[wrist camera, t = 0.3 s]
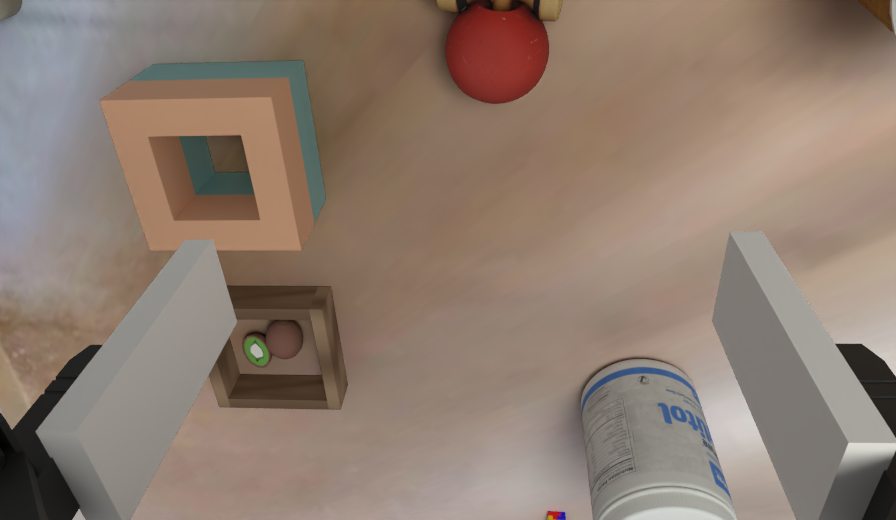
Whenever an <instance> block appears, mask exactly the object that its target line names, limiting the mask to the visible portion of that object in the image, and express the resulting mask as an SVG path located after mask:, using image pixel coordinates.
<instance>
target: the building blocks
mask: <svg viewBox="0 0 896 520" xmlns="http://www.w3.org/2000/svg"><path fill="white" fill-rule="evenodd" d="M547 520H566V518H565V512H553V511H548V515H547Z"/></svg>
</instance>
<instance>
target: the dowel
mask: <svg viewBox="0 0 896 520" xmlns="http://www.w3.org/2000/svg"><path fill="white" fill-rule="evenodd" d="M21 5H22V0H0V20H2V19H5V18H8V17H10V16H13V15H15V14H16V13H17V12H18V11H19V9H20V8H21Z"/></svg>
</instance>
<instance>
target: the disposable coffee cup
mask: <svg viewBox="0 0 896 520" xmlns="http://www.w3.org/2000/svg"><path fill="white" fill-rule="evenodd" d="M858 1H860V2H861V3H862V4H863V5H864V6H865V7H866V8H867V9H868V10H869V11H870V12H872V13H873V14H874V15H875V16H876V17H877V18H878V19H880V20H881V21H882V22H883V23H884V24H885V25H886V26H887V27H888V28H889V29H890V30H891V31H893V32H894V34H895V37H896V0H858Z"/></svg>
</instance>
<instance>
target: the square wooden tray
mask: <svg viewBox="0 0 896 520" xmlns="http://www.w3.org/2000/svg"><path fill="white" fill-rule="evenodd" d="M227 289H228V292H229V296H230V299H231V302H232V306H233V309H234V313H235V316H236V319H264V320H311V322H312V327H313V332H314V337H315V342H316V347H317V352H318V357H319V362H320V367H321V372H322V376H313V375H251V374H240V373H239V369H238V366H237V362H236V359H235V355H234V352H233V348H232V345H231V342H230V338H228V340H227V342H226V344H225V346H224V347H223V349H222V351H221V353H220V355H219V357H218V358H217V360H216V362H215V364H214V366H213V368H212V370H211V371H210V373H209V377H210V380H211V383H212V386H213V389H214V392H215V396H216V399H217V402H218V405H219V407H235V408H283V409H332V410H341V407H342V403H343V399H344V396H345V392H346V389H347V385H348V383H347V378H346V372H345V366H344V360H343V354H342V348H341V343H340V337H339V331H338V325H337V319H336V314H335V308H334V302H333V296H332V290H331V286H227Z"/></svg>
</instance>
